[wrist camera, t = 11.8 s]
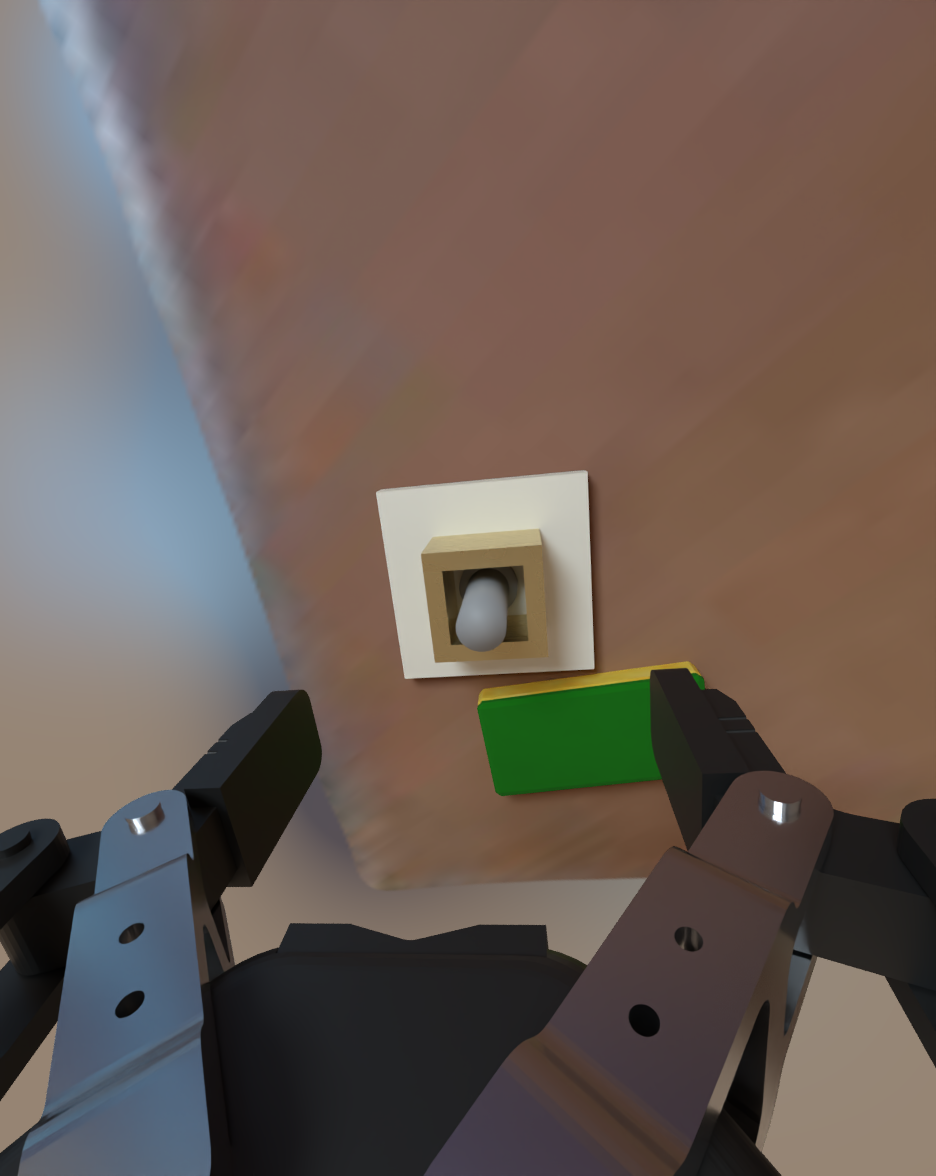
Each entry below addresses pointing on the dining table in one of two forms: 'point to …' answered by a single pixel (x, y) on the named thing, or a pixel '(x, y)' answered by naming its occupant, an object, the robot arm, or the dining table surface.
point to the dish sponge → (571, 731)
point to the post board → (494, 516)
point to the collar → (475, 553)
